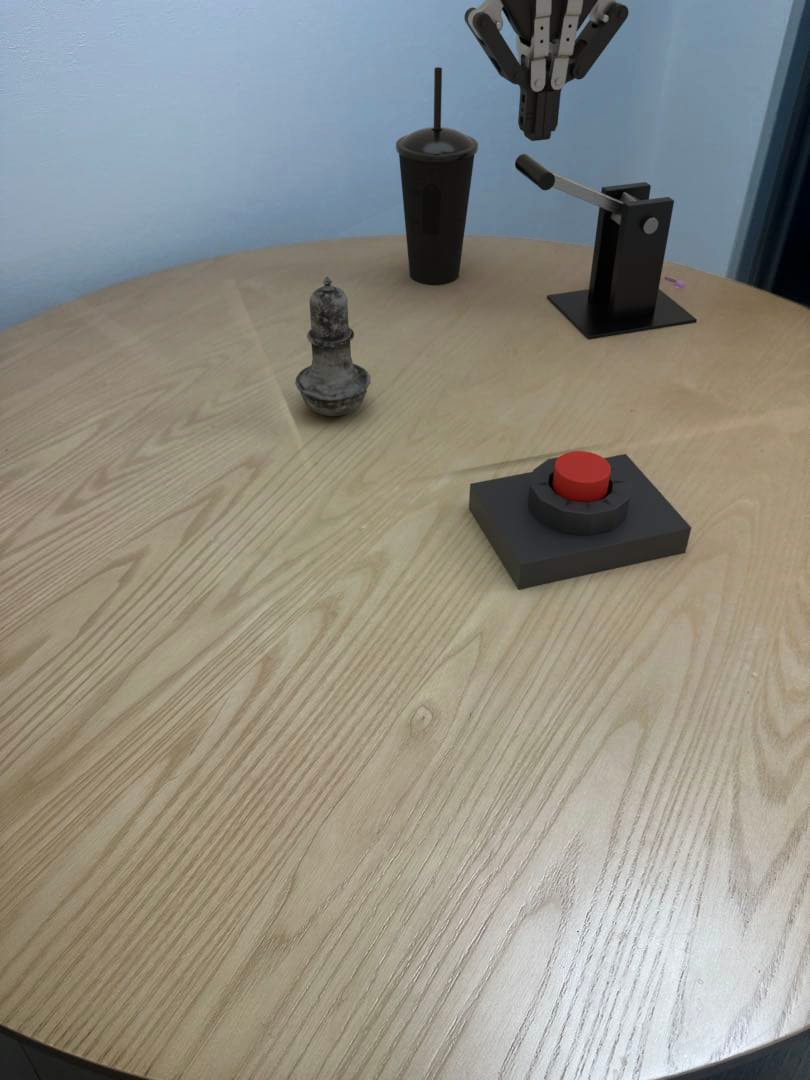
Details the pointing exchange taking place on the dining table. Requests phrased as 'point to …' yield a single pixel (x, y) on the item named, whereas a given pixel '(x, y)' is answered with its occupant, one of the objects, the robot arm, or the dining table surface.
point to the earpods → (678, 283)
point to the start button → (581, 476)
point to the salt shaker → (331, 357)
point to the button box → (575, 524)
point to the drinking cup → (435, 195)
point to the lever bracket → (626, 271)
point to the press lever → (570, 186)
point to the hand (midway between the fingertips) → (536, 137)
